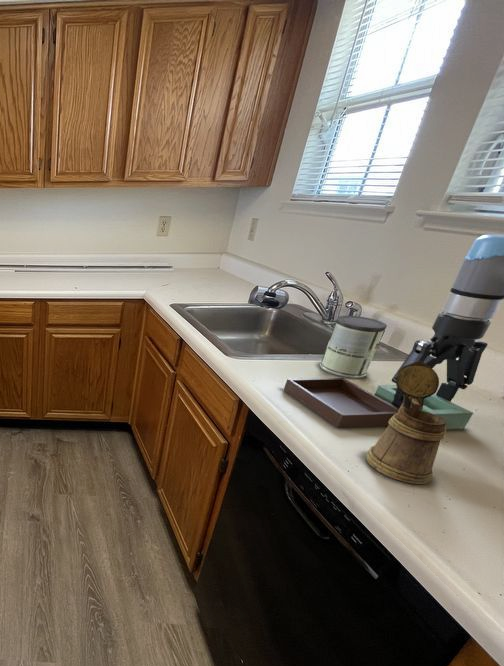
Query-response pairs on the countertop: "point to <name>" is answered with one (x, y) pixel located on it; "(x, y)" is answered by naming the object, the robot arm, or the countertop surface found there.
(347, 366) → the coffee can
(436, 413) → the frame
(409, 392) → the wooden mug
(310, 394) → the tray
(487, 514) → the countertop surface
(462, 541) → the countertop surface
